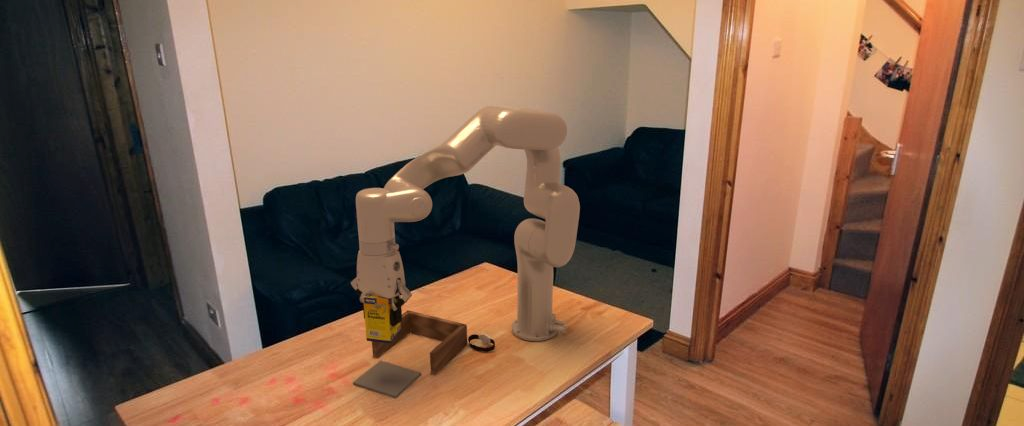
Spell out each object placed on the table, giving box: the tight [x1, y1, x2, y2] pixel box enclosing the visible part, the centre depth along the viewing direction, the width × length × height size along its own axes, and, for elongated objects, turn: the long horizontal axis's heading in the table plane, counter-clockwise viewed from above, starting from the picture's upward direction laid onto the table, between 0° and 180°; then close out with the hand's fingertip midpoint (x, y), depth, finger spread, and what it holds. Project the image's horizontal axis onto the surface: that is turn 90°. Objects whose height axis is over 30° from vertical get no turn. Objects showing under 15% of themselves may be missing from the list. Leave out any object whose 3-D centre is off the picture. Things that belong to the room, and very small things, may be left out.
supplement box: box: [363, 294, 401, 344], centre depth 120 cm, size 6×6×11 cm
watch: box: [467, 332, 496, 353], centre depth 138 cm, size 8×5×4 cm, turn 61°
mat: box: [352, 360, 422, 399], centre depth 125 cm, size 12×10×1 cm
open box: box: [371, 310, 468, 377], centre depth 136 cm, size 18×15×6 cm
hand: (382, 319), depth 120 cm, fingers closed on supplement box, 6 cm apart
